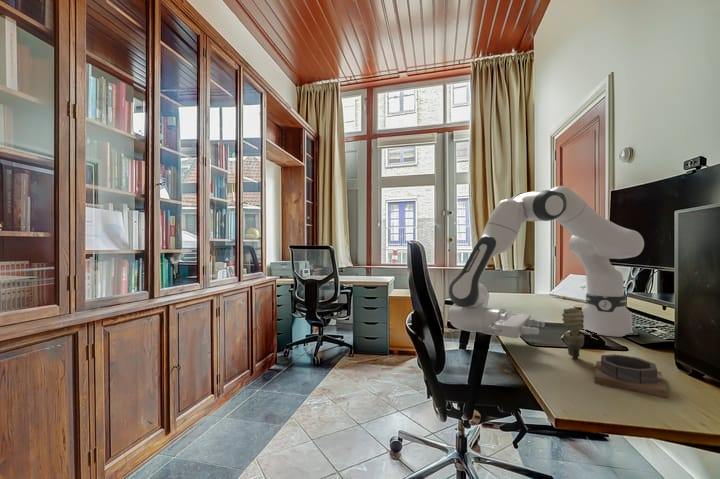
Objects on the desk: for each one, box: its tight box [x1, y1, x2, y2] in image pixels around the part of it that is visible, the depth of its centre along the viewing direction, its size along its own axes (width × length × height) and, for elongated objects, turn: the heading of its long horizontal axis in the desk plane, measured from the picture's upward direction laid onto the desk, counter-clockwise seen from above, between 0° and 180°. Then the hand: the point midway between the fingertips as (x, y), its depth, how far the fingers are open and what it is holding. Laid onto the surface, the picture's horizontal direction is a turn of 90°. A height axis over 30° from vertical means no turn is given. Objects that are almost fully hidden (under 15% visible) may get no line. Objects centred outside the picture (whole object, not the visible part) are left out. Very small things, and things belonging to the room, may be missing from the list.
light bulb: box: [561, 307, 585, 359], centre depth 95 cm, size 6×6×15 cm
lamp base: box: [594, 353, 669, 399], centre depth 79 cm, size 13×13×4 cm
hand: (541, 327), depth 100 cm, fingers open, 8 cm apart
